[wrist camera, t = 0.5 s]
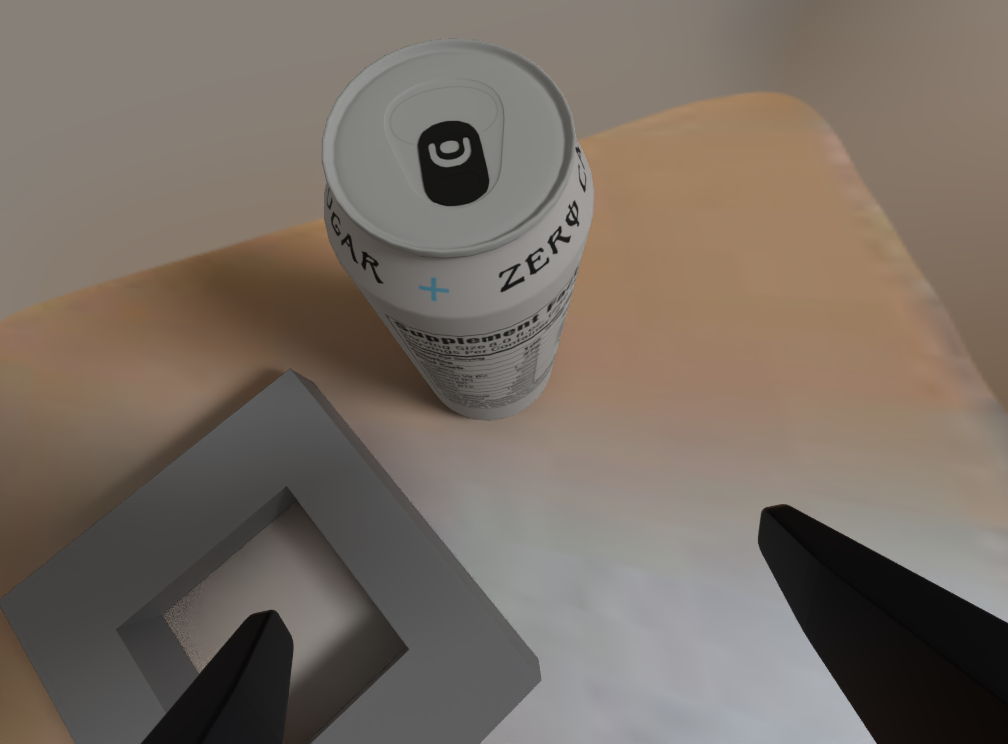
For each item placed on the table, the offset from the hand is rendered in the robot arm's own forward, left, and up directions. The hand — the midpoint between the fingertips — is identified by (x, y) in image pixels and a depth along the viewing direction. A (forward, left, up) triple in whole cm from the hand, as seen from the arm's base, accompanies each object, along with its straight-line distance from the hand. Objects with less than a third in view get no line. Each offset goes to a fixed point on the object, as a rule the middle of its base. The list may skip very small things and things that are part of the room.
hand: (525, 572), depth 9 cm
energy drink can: (+7, -4, -13) cm, 15 cm away
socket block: (+4, +10, -13) cm, 17 cm away
